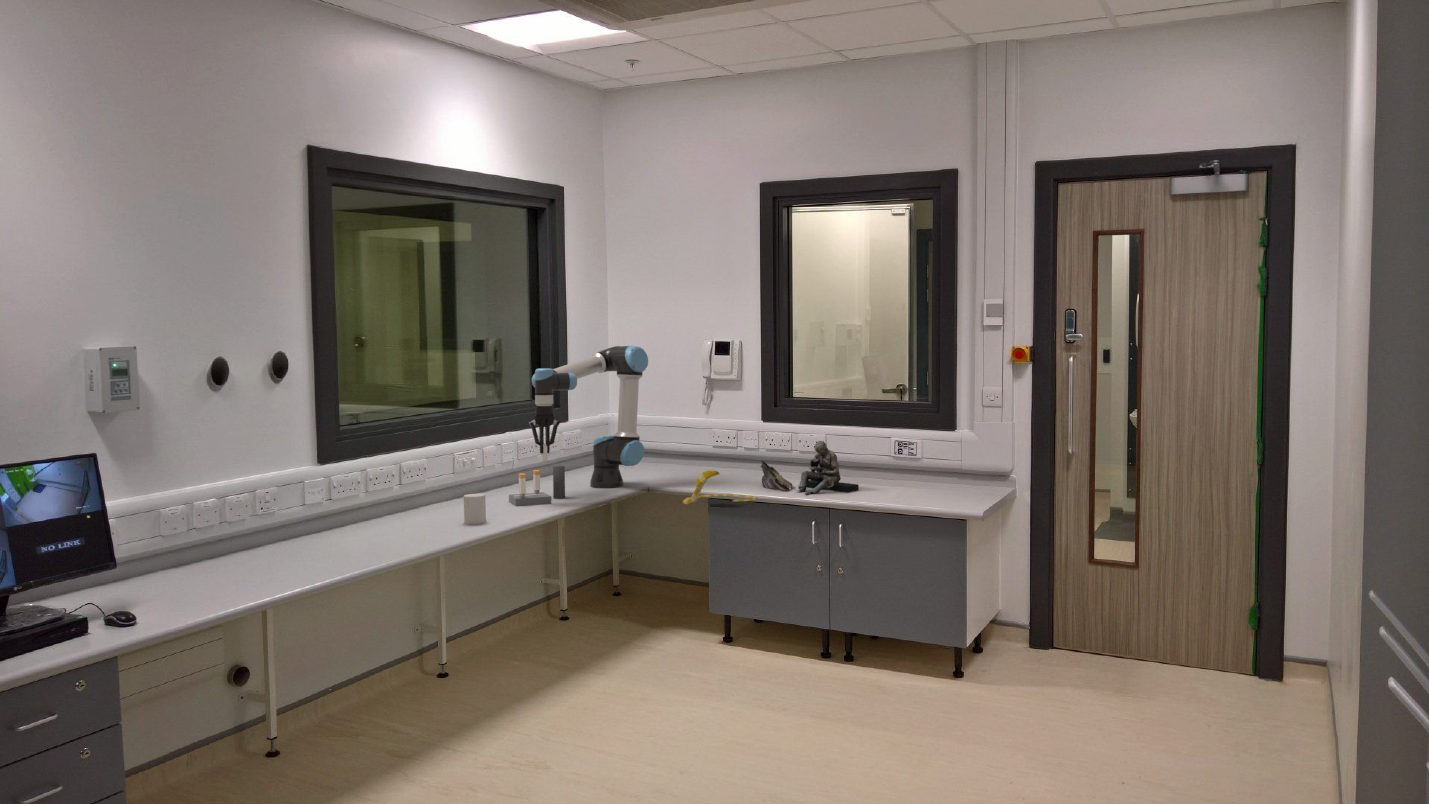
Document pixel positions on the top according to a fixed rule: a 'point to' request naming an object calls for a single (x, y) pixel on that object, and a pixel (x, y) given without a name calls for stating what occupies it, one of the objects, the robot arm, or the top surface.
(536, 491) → the paddle
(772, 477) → the brown ridged tapered piece
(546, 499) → the grey tube rack
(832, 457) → the figurine
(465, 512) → the light grey upright cylinder
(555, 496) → the post
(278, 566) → the top surface
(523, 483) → the paddle
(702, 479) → the toy
